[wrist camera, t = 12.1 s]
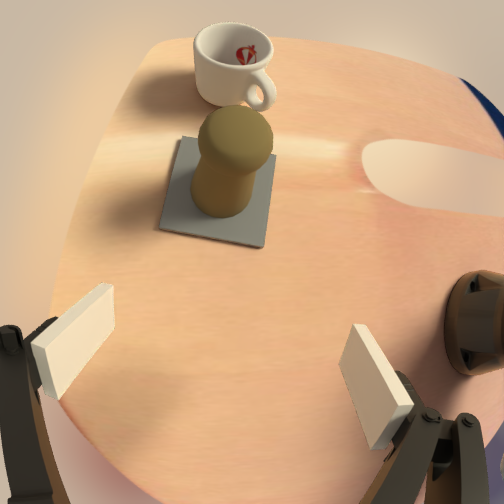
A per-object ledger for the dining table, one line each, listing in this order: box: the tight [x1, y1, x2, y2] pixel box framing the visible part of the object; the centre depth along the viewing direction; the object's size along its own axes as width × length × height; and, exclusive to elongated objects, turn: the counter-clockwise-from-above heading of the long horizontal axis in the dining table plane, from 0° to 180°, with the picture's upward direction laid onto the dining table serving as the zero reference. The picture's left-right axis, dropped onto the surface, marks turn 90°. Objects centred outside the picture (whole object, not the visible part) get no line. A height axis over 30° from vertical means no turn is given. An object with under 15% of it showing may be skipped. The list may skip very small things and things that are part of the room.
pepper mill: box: [190, 105, 273, 218], centre depth 23 cm, size 6×6×11 cm
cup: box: [193, 22, 277, 112], centre depth 28 cm, size 11×8×8 cm
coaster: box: [159, 136, 276, 248], centre depth 29 cm, size 10×10×1 cm
